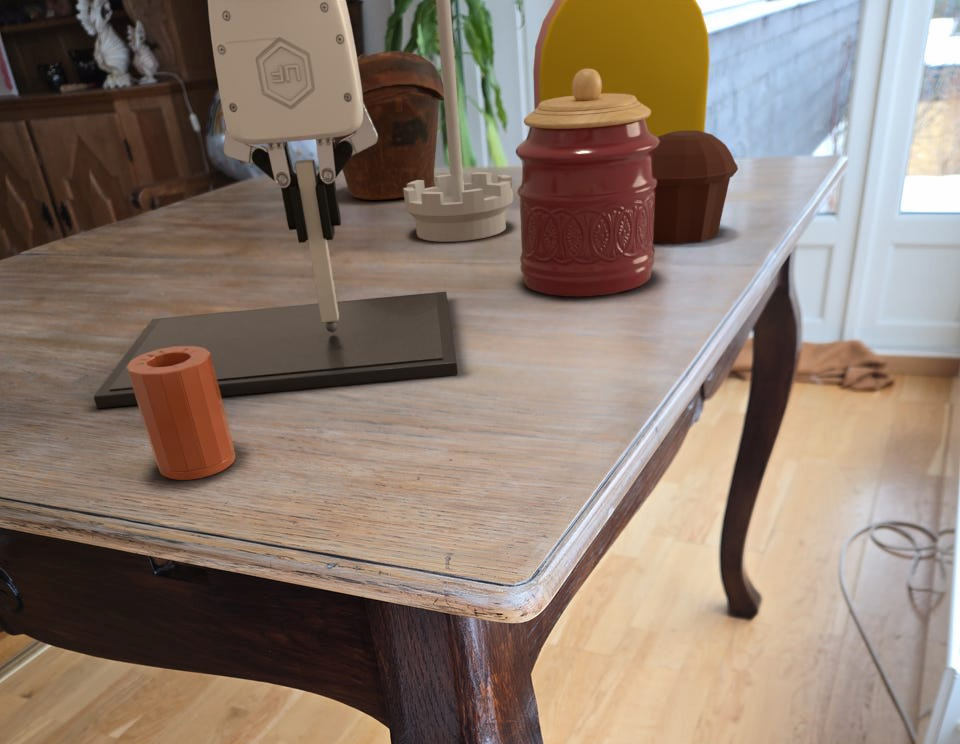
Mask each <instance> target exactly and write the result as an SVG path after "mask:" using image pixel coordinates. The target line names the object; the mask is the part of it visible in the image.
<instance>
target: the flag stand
mask: <svg viewBox="0 0 960 744" xmlns="http://www.w3.org/2000/svg"><path fill="white" fill-rule="evenodd" d="M435 5H436V16H437V17H436V18H437V30H438V41H439V42H438V43H439V53H440V54H439V55H440V65H441V66H440V67H441V79H442V83H443V92H444V101H443V102H444V113H445V116H444V117H445V128H446V138H447V151H448V163H449V173H448V174H440V175H434V186H433V187H430V188H425V186H424V180H416V181H413V182H410V183H408V184H407V188H403V190H404V197H403V198H404V206H405V210H406V212H408V214H410V215H411V216H412V217H413V218H414V219H415V231H416V236H417V237H418V239H421V240H424V241H429V242H430V241H431V242H443V243H444V242H446V243H447V242H451V243H452V242H465V241H466V242H467V241H474V240H480V239H484V238H489V237H492V236H495V235H498V234H501V233H502V232H504V231H505V230H506V229H507V224H506V210H507V209H508V208H509V207H510V205H511V204H512V203H513V201H514V193H513V191H514V190H513V178H512V176H511V175H508V174H506V173H505V174H499V175H497V182H493V172H486V171H485V172H484V171H482V172H477V171H475V172H474V171H473V172H472V173H471V174H470V177H471V182H465V181H464V170H463V156H462V143H461V141H462V140H461V129H460V116H459V104H458V103H459V102H458V89H457V88H458V87H457V75H456V62H455V60H456V59H455V51H454V50H455V48H454V37H453V36H454V35H453V23H452V22H453V21H452V7H451V0H435Z"/></svg>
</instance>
